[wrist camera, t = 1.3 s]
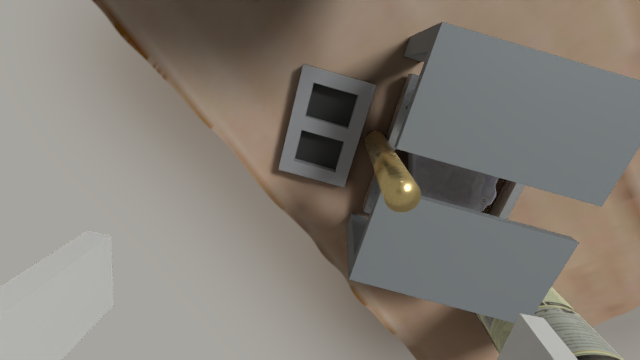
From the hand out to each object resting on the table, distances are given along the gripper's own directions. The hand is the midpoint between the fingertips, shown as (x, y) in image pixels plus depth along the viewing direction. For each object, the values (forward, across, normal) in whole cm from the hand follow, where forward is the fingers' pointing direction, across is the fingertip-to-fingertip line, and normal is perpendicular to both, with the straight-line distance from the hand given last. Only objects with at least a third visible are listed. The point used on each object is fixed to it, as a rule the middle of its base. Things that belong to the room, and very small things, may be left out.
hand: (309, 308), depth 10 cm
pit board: (+28, -1, +1) cm, 28 cm away
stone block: (+28, +14, 0) cm, 32 cm away
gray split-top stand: (+28, +14, 0) cm, 32 cm away
